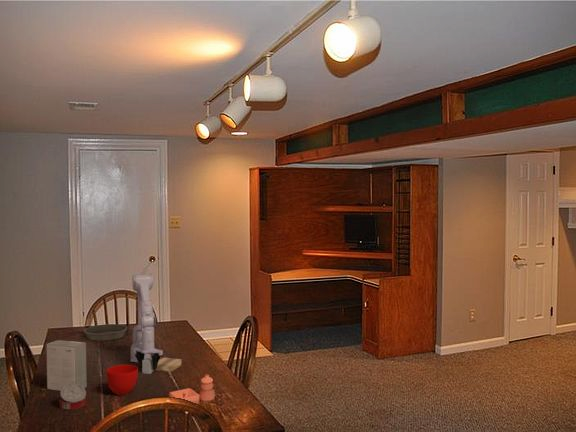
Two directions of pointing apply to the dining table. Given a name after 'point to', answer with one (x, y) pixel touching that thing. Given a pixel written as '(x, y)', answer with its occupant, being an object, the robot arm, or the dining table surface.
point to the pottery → (192, 396)
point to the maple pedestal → (168, 364)
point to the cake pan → (105, 332)
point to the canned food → (72, 396)
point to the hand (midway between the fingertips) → (148, 368)
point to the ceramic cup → (122, 378)
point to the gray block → (147, 366)
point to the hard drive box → (65, 363)
